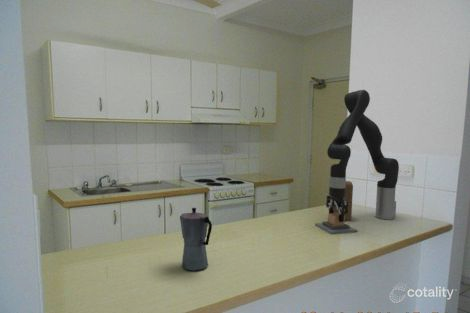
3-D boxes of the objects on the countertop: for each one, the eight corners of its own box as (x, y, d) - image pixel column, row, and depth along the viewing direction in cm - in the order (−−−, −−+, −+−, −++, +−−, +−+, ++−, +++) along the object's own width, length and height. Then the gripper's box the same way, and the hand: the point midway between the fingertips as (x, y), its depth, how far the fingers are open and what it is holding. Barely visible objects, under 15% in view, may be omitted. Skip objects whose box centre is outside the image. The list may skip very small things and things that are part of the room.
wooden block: (331, 219, 168) (333, 182, 166) (331, 215, 177) (333, 180, 176) (351, 221, 165) (353, 184, 163) (350, 216, 174) (351, 181, 173)
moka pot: (191, 256, 115) (191, 202, 113) (222, 268, 105) (223, 209, 104) (170, 264, 108) (170, 207, 106) (202, 278, 98) (202, 215, 96)
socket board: (339, 223, 160) (339, 218, 160) (357, 232, 147) (357, 226, 147) (315, 225, 157) (315, 220, 156) (331, 234, 143) (331, 228, 143)
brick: (337, 224, 155) (338, 212, 154) (344, 228, 150) (344, 215, 149) (327, 225, 153) (328, 213, 153) (334, 228, 148) (334, 216, 148)
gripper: (353, 188, 144) (351, 223, 146) (335, 183, 158) (334, 215, 159) (339, 189, 142) (337, 224, 144) (322, 184, 156) (321, 215, 157)
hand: (335, 219), depth 151 cm, fingers open, 8 cm apart
